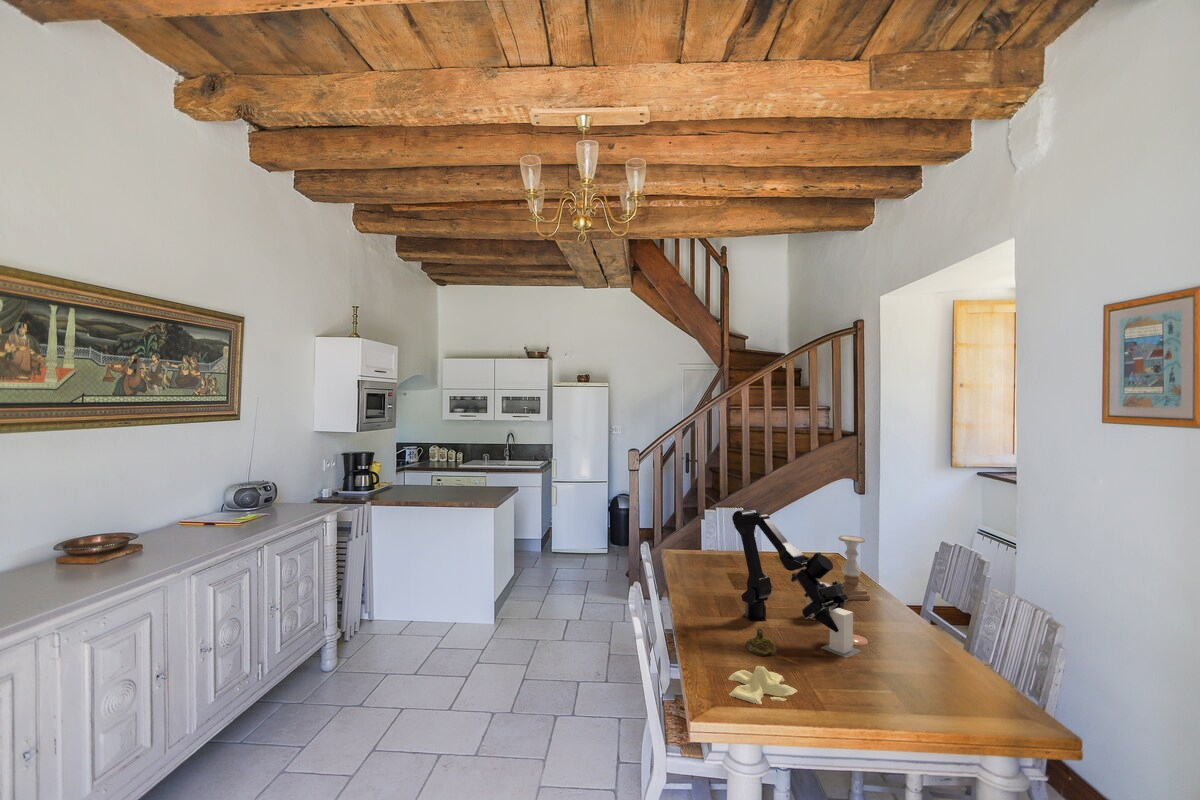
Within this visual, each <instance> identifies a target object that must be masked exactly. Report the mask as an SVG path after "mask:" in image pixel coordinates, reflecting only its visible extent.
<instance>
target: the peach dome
mask: <svg viewBox="0 0 1200 800" xmlns="http://www.w3.org/2000/svg"><path fill="white" fill-rule="evenodd" d="M868 643H869V640H868V639H867V638H866V637H864V636H862V635H859V634H854V633H853V646H866V645H868Z"/></svg>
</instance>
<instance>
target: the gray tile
mask: <svg viewBox="0 0 1200 800" xmlns="http://www.w3.org/2000/svg"><path fill="white" fill-rule="evenodd" d="M820 649H822V650H826V651H828V652H829V653H833V654H835V655H838V656H841V657H843V658H846V659H847V658H849V657H851V656H854V655H856V654H859V653H861V652H862V650H861V649H858V648H855V647H853V650H852V651H850V652H847V653H845V654H843V653H840V652H838V651H835V650H832V649H830V643H829V644H826V645H823V646H821V647H820Z"/></svg>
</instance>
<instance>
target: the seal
mask: <svg viewBox="0 0 1200 800" xmlns="http://www.w3.org/2000/svg"><path fill="white" fill-rule="evenodd" d="M745 646H746V649H747V651H749V652H751V653H752V654H754V655H757V656H759V657H768V656H769V657H770V656H774V655H776V653H777V645H776V643H775V642H773V640H771V639H769V638H767V637H765V636H764V633H763V629H762V628H760V627H758V628H757V631H756V636H753V637H751V638H749V639H748V640H747V641H746V645H745Z"/></svg>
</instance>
